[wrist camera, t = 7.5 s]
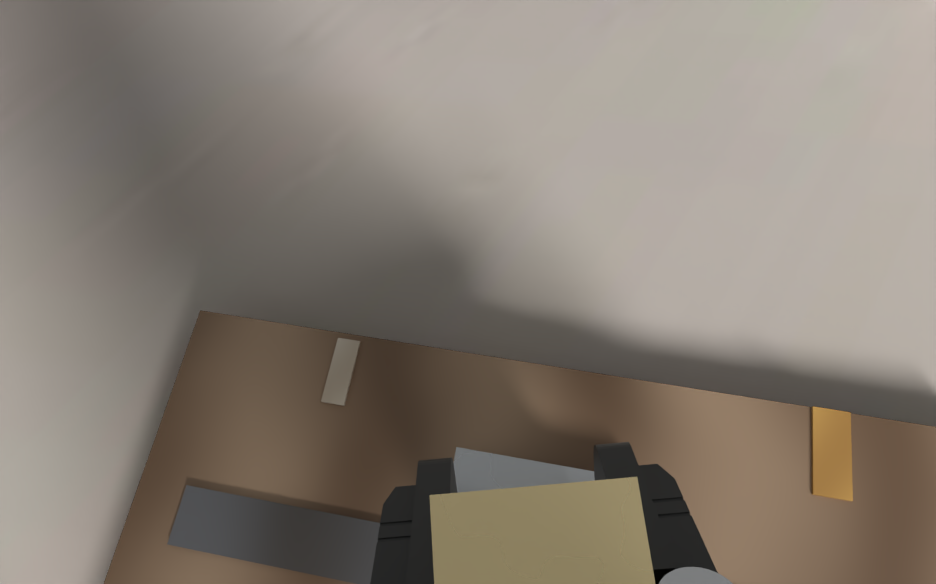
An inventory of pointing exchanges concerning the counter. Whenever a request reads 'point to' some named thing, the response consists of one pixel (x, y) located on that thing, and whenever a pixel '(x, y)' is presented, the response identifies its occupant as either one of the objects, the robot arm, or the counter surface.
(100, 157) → the counter surface
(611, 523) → the fader lever
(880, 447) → the fader board
